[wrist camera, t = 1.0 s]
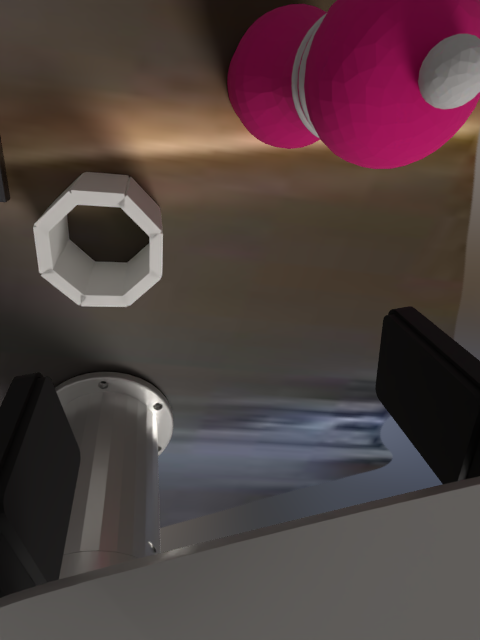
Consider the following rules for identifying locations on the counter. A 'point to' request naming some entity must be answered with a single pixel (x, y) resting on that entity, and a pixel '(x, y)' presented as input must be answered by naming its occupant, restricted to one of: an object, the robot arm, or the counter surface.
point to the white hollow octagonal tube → (82, 271)
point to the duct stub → (3, 178)
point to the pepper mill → (360, 77)
